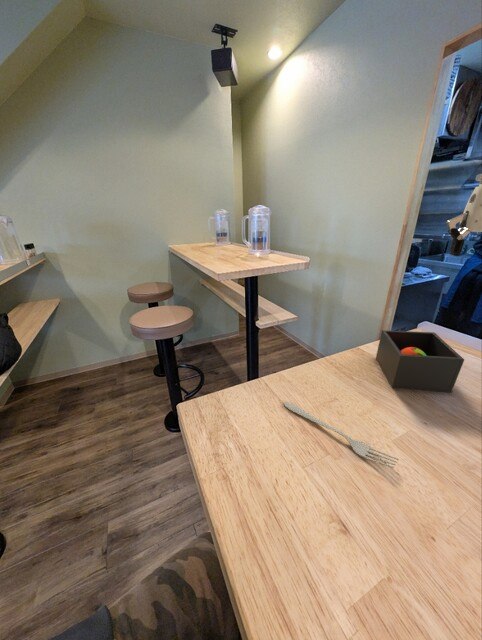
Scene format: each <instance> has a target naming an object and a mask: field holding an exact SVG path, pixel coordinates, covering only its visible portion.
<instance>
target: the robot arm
mask: <svg viewBox="0 0 482 640" xmlns="http://www.w3.org/2000/svg"><path fill="white" fill-rule="evenodd" d="M474 180H475V181H476V182H478V184H479V185H478V186H475V187H474V189H473V191H472V193H471V194H470V197H469V199H468V201H467V203H466V206H465V208H464V209H463V213H461V214H459V215H457V216H455V217H452V218H451V219H448V220H447V221H446V223H445V225H446V227H447V233H448V234H449V235H450V237H451V239H452V241H451V245H450V247H449V254H450V255H451V256H455V257H459V256H461V254H462V251H463V248H464V245H465V242H466V241H465V239H464V238H465V237H466V236H468V235H469V234H470V233H472V232H473V233H482V173H481V174H480V173H479V174H476V176H475V179H474ZM457 224H459V225H458V226H459V229H458V228H457V226H456V225H457Z"/></svg>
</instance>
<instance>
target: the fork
mask: <svg viewBox="0 0 482 640" xmlns="http://www.w3.org/2000/svg"><path fill="white" fill-rule="evenodd" d="M283 405H284V406H285V408H286V409H288V410H289V411H291V412H293V413H295V414H297V415H299V416H301V417H302V418H305V419H306V420H309V421H311V422H314V423H316V424H318V425H320V426H322V427H324V428H326V429H329V430H331V431H333V432H335V433H336V434H339V436H342V437H343V438H344V439H345V440H346V441H347V442H348V444H349V445H350V447H351V449H352V450H353V451H354V453H355V454H357V455H358V456H359V457H362V458H364V459H367V460H369V461H371V462H374V463H376V464H379V465H383V466H385V467H388V468H392V469H394V468H395V466H397V465H396V464H397V463H398V461H399V458H397V457H394V456H393V455H390V454H387V453H385V452H383V451H380V450H377V449H375V448H374V447H372V446H370V445H368V444H366V443H363V442H361V441H359V440H356V439H353V438H351V437H350V436H348V435H347V434H345V433H344V432H342V430H341V431H340V430H339V429H337V428H335V427H333V426H331V425H329V424H328V423H326V422H324V421H322V420H321V419H320V418H317V417H316V416H313V415H312V414H310V413H308V412H307V411H305V410H304V409H302V408H301V407H299V406H297V405H295V404H293V403H292V402H288V401H287V402H284V403H283Z"/></svg>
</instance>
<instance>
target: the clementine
mask: <svg viewBox="0 0 482 640" xmlns="http://www.w3.org/2000/svg"><path fill="white" fill-rule="evenodd" d="M401 353H402V354H405V355H423V356H427V355H426V354H425V353H424V352H423V351H422V350H420V349H418V348H415V347H408V348H404V349H402V350H401Z"/></svg>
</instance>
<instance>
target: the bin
mask: <svg viewBox="0 0 482 640" xmlns="http://www.w3.org/2000/svg"><path fill="white" fill-rule="evenodd" d="M408 347H415V348H418V349H420V350H422V351H423V352H424V353H425V354H426V355H427V356H423V355H405V354H402V353H401V350H402V349H404V348H408ZM375 360H376V361H377V364H378V365H379V367H380V369H381V372H382V373H383V374H384V377H385V378H386V380H387V381H388V383H389V385H390V387H391V389H402V390H413V391H426V392H438V393H439V392H440V393H452V392H453V390H454V387H455V385H456V382H457V380H458V377H459V375H460V373H461V370H462V368H463V364H464V362H465V358H464V357H463V356H461V355H460V354H459V353H458V352H457V351H456V350H455V349H454V348H452V347H451V346H450V345H449V344H448V343H447V342H445V340H444V339H442V338H441V337H440V336H439V335H438V334H437V333H436V332H433V331H413V330H412V331H410V330H409V331H408V330H388V329H387V330H385V329H382V330H381V333H380V338H379V342H378V347H377V351H376V355H375Z"/></svg>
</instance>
